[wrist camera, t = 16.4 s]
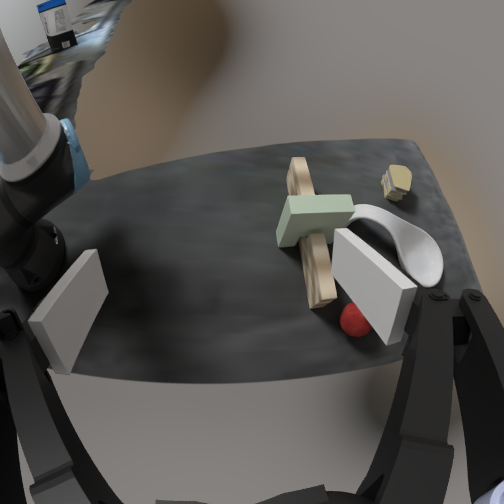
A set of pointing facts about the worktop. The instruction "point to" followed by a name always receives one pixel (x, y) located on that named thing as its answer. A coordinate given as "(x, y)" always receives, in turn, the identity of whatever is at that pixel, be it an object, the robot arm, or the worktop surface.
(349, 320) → the onion
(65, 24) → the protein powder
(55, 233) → the robot arm
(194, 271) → the worktop surface
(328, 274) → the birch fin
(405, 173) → the pale yellow layered block
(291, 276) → the worktop surface
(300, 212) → the notched piece
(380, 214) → the spoon rest
